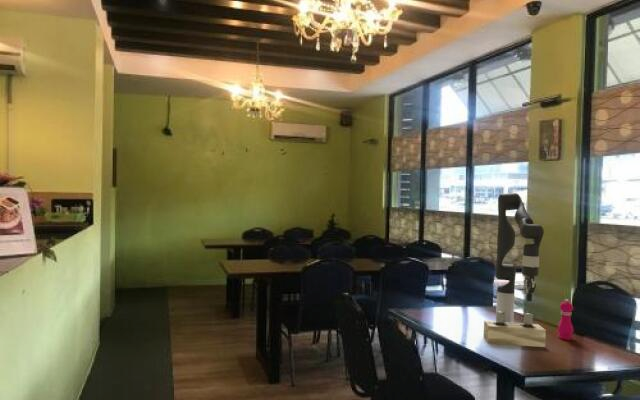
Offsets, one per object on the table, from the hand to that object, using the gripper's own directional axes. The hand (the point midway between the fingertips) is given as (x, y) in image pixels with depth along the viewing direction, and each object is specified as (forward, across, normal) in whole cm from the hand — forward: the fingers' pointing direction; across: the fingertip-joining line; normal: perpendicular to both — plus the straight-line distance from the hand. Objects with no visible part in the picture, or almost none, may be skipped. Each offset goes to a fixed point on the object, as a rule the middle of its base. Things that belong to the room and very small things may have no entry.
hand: (529, 300), depth 247 cm
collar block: (+20, 0, -6) cm, 21 cm away
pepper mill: (+20, -15, +22) cm, 34 cm away
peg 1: (+14, 0, -13) cm, 19 cm away
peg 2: (+14, 0, 0) cm, 14 cm away
